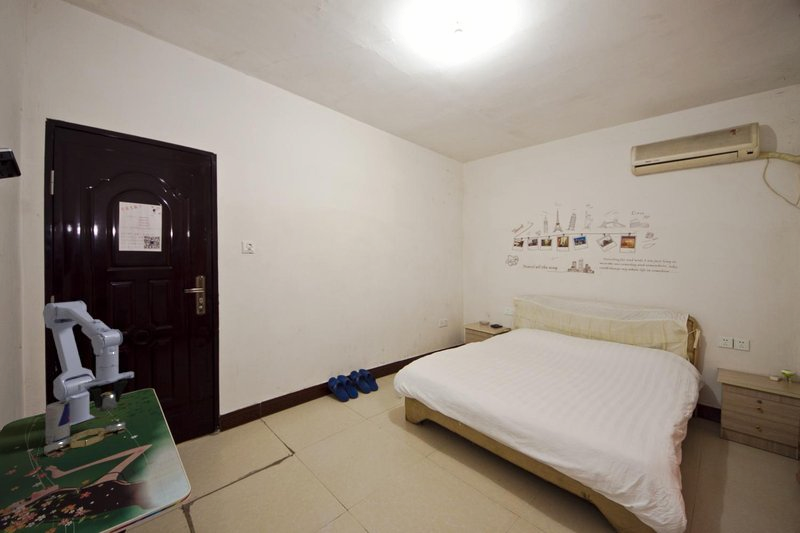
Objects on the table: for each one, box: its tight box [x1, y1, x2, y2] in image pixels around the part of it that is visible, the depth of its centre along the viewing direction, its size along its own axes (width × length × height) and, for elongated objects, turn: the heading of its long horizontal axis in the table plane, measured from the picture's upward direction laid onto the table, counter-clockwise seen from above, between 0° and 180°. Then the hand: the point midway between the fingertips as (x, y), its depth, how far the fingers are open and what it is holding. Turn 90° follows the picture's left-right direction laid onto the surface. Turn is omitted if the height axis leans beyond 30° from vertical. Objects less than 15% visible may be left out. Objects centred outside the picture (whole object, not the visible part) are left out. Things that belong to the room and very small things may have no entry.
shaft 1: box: [43, 437, 71, 457], centre depth 96 cm, size 5×3×3 cm
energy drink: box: [45, 400, 71, 445], centre depth 102 cm, size 5×5×12 cm
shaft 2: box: [104, 421, 126, 438], centre depth 107 cm, size 5×3×3 cm
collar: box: [68, 427, 107, 449], centre depth 102 cm, size 9×9×2 cm
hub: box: [98, 391, 117, 413], centre depth 109 cm, size 4×4×5 cm
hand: (107, 404), depth 109 cm, fingers closed on hub, 4 cm apart
